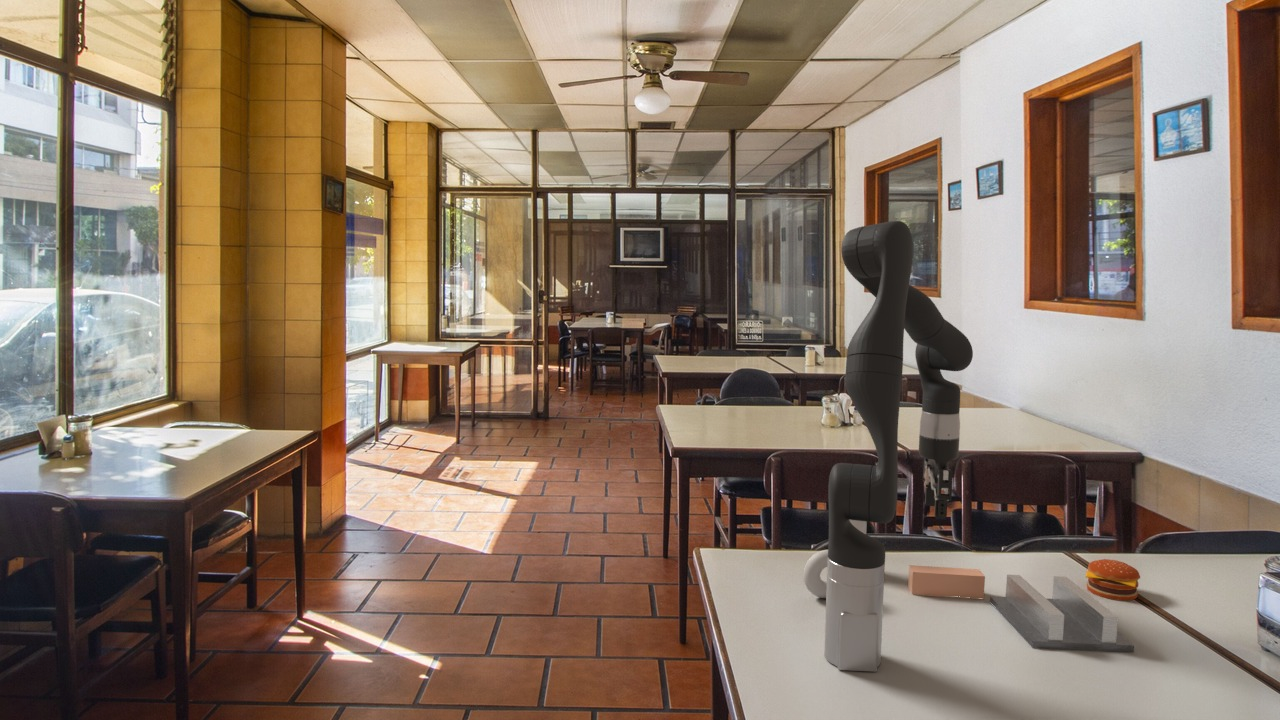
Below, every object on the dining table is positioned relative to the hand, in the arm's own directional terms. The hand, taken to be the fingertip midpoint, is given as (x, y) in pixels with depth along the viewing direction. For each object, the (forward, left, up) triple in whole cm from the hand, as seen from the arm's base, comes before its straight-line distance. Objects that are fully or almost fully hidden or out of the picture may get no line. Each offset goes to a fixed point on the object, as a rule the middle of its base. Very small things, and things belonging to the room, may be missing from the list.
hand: (935, 511), depth 159 cm
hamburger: (+5, -38, -18) cm, 42 cm away
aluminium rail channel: (-13, -19, -17) cm, 29 cm away
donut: (-4, +22, -17) cm, 28 cm away
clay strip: (+1, -3, -18) cm, 18 cm away
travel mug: (+12, +14, -17) cm, 25 cm away
